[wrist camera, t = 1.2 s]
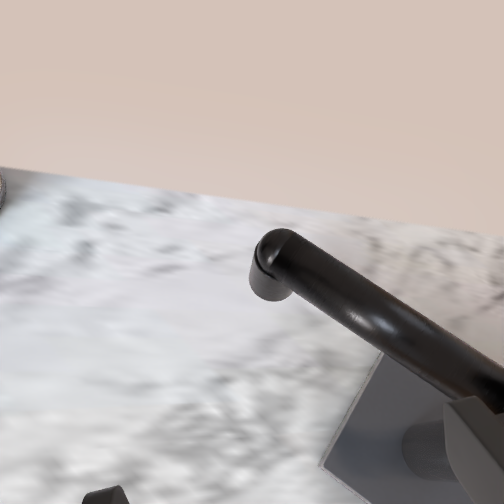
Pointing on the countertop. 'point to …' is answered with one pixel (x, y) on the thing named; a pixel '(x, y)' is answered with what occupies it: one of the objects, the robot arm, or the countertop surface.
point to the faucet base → (394, 442)
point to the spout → (374, 317)
